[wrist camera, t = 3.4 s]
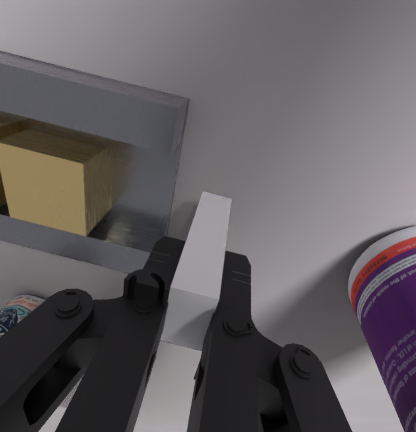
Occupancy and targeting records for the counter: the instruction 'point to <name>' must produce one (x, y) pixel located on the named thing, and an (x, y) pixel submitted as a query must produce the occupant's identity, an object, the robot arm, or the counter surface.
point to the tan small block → (4, 128)
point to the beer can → (17, 311)
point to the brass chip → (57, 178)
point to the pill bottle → (390, 315)
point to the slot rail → (122, 156)
